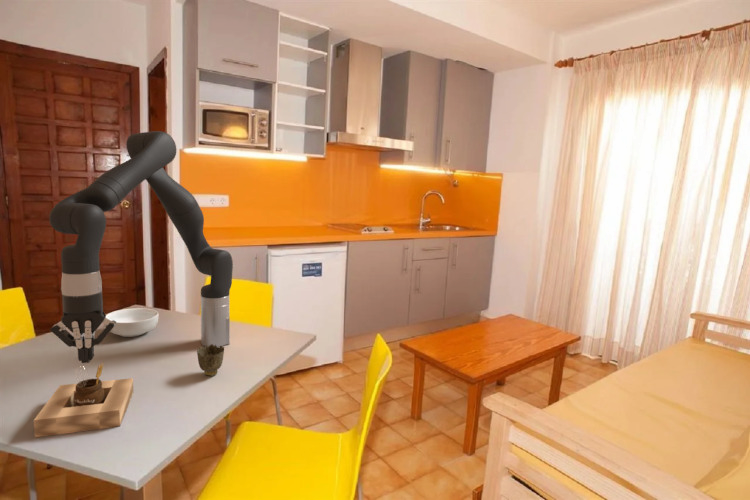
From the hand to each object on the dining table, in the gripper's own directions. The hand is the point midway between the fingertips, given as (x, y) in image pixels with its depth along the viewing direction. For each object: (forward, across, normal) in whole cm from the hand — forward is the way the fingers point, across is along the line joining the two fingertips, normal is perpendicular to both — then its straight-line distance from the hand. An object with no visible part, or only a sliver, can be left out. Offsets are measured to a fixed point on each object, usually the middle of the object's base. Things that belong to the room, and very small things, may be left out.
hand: (86, 361), depth 98 cm
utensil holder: (+13, 0, 0) cm, 13 cm away
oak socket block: (+13, 0, 0) cm, 13 cm away
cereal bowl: (+13, 0, -54) cm, 56 cm away
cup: (+13, -27, -14) cm, 33 cm away
